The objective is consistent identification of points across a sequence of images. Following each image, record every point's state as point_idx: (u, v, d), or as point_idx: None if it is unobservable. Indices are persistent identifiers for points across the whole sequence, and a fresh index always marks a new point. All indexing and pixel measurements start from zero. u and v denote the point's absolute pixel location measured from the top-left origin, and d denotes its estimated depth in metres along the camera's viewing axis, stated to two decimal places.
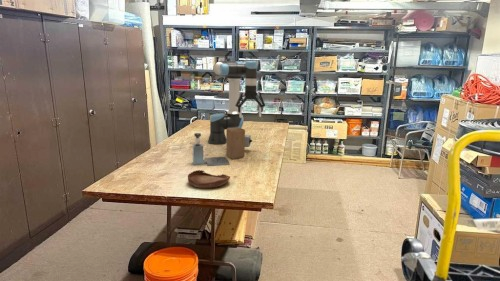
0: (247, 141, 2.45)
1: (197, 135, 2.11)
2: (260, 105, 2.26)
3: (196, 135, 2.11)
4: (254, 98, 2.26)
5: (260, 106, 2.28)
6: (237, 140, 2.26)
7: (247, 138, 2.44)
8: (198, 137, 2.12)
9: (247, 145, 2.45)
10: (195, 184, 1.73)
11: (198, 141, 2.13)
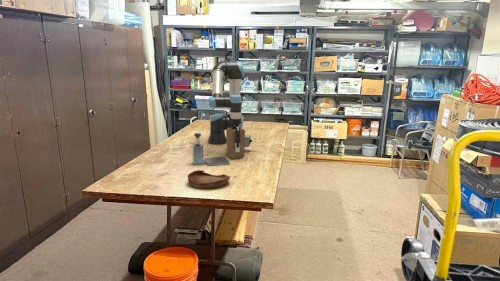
0: (247, 141, 2.45)
1: (197, 135, 2.11)
2: None
3: (196, 135, 2.11)
4: None
5: None
6: None
7: (247, 138, 2.44)
8: (198, 137, 2.12)
9: (247, 145, 2.45)
10: (195, 184, 1.73)
11: (198, 141, 2.13)
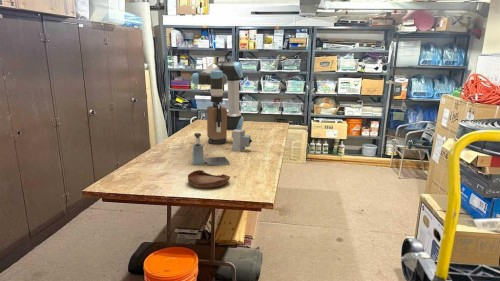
0: (247, 141, 2.45)
1: (197, 135, 2.11)
2: None
3: (196, 135, 2.11)
4: None
5: None
6: None
7: (247, 138, 2.44)
8: (198, 137, 2.12)
9: (247, 145, 2.45)
10: (195, 184, 1.73)
11: (198, 141, 2.13)
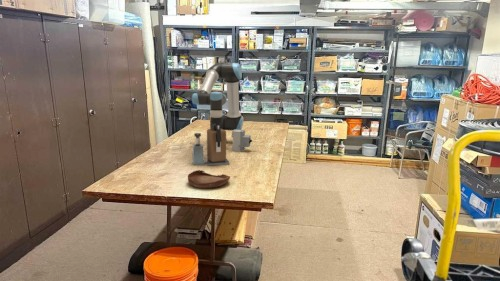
0: (247, 141, 2.45)
1: (197, 135, 2.11)
2: (216, 139, 2.10)
3: (196, 135, 2.11)
4: None
5: None
6: None
7: (247, 138, 2.44)
8: (198, 137, 2.12)
9: (247, 145, 2.45)
10: (195, 184, 1.73)
11: (198, 141, 2.13)
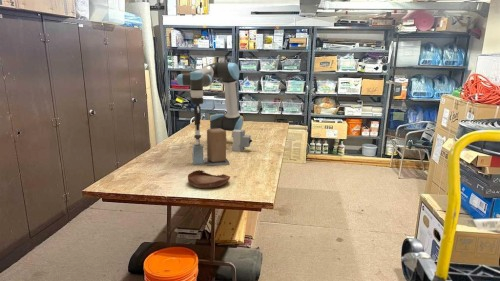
0: (247, 141, 2.45)
1: (197, 137, 2.11)
2: (195, 121, 2.10)
3: (196, 137, 2.11)
4: None
5: None
6: (217, 142, 2.12)
7: (247, 138, 2.44)
8: (198, 139, 2.12)
9: (247, 145, 2.45)
10: (195, 184, 1.73)
11: (198, 143, 2.13)
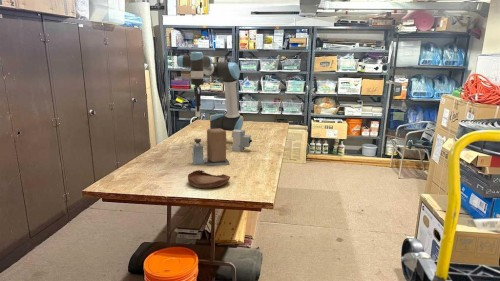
0: (247, 141, 2.45)
1: (197, 141, 2.12)
2: (195, 103, 2.08)
3: (196, 141, 2.12)
4: None
5: None
6: (217, 142, 2.12)
7: (247, 138, 2.44)
8: (198, 143, 2.13)
9: (247, 145, 2.45)
10: (195, 184, 1.73)
11: None
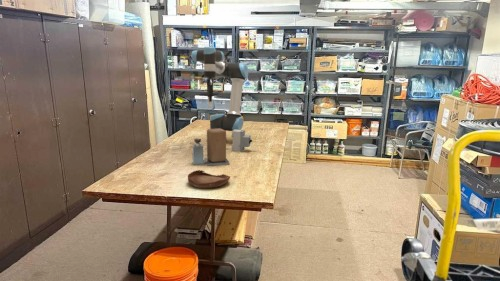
0: (247, 141, 2.45)
1: (197, 141, 2.12)
2: (208, 93, 2.26)
3: (196, 141, 2.12)
4: None
5: None
6: (217, 142, 2.12)
7: (247, 138, 2.44)
8: (198, 143, 2.13)
9: (247, 145, 2.45)
10: (195, 184, 1.73)
11: None
